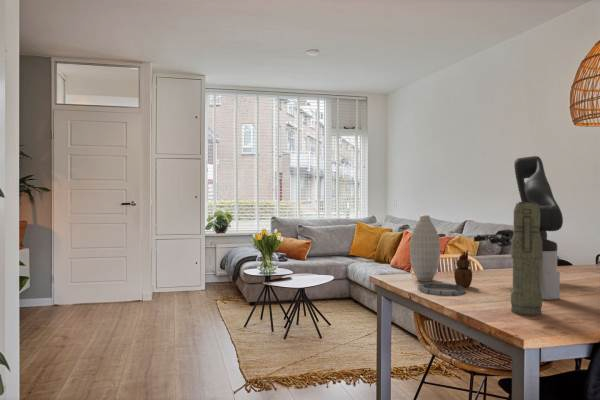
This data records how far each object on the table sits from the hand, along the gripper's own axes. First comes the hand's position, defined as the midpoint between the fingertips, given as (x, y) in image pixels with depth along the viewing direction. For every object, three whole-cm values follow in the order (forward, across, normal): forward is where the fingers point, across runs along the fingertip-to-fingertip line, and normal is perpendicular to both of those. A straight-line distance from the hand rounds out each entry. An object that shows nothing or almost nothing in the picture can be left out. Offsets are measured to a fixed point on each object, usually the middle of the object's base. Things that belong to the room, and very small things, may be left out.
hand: (482, 240), depth 198 cm
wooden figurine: (+11, 0, +18) cm, 22 cm away
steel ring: (+25, +2, +18) cm, 31 cm away
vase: (+15, -18, +19) cm, 30 cm away
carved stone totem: (+26, +40, +18) cm, 51 cm away
